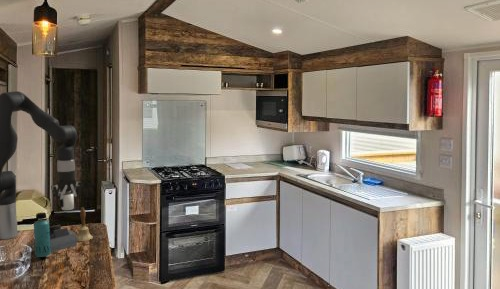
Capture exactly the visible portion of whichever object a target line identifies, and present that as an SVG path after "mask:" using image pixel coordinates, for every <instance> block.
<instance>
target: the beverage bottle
mask: <svg viewBox="0 0 500 289" xmlns="http://www.w3.org/2000/svg"><path fill="white" fill-rule="evenodd" d="M35 219H36V220H37V221H34V223H33V235H34V254H35V257H38V258H44V257H47V256H49V255H51V253H52V252H51V246H50V241H51V240H50V229H49V227H50V222H49V220H47V214H46V212H38V213H36V214H35Z"/></svg>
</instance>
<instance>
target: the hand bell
mask: <svg viewBox="0 0 500 289" xmlns="http://www.w3.org/2000/svg"><path fill="white" fill-rule="evenodd" d="M79 216H80V220H81V221H80V222H81V227H80V228H79V229H78V233H77V235H76V239H77V242H87V241H90V239H91V240H92V239H94V237H93V235H91V233H90V230H89V227H88V226H86V210H85V208H84V207H83V206H82V207H81V208H80V211H79Z"/></svg>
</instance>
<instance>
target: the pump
mask: <svg viewBox="0 0 500 289" xmlns="http://www.w3.org/2000/svg"><path fill="white" fill-rule="evenodd" d="M61 210H63V211H71V210H75V205H74V193H72V190H71V191H66V192H65V194H64V196H63V207H61Z"/></svg>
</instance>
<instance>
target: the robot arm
mask: <svg viewBox="0 0 500 289" xmlns="http://www.w3.org/2000/svg"><path fill="white" fill-rule="evenodd" d="M20 111H22V112H25V113H27V114H28V115H30V117H31V119H32V121H33V123H34V124H35V125H36V126H37V127H39V128H40V129H42V130H44V131H45V132H47V134H48V135H49V136H50V137H51V139H53V140H54V141H56V142H58V143H62V145H61V146H58V148H57V149H56V156H57V162H56V163H57V164H56V170H57V172H56V173H57V175H56V176H57V183H56V184H55V185H51V186H50V189H51V194H52V197H53V198H54V199H57V200H58V201H57V203H58V206H59V207H60V208H62V207H63V196H64V194H65V192H66V191H71V190H72V193H74V206H75V205H76V204H77V196H79V195H81V192H82V186H83V182H82V181H78V180H77V181H76V162H75V152H74V151H75V147H76V145H77V144H76V143H77V139H78V133H77V130H76V128H75V126H74V125H71V124H70V125H60V122H59V121H60V120H58V119H57V118H55V117H54V116H52V115H51V114H49V113H47V112H46V111H45V110H43V109H41V108H40V107H39V106H38V105H37V104H36V103H35V102H34V101H33V100H31V99H30V97H28V96H27V95H26V94H24V93H23V92H21V91H7V92H2V93H1V94H0V191H3V193H1V194H0V240H8V239H9V240H10V239H13V238H16V237H18V235H19V233H18V219H17V217H18V216H17V204H16V203H17V202H16V198H17V180H16V174H15V173H14V172H13V170H5V171H3V169H4V168H5V165H6V164H7V163H8V162H9V161H10V160H11V159H12V157H13V155H14V154H15V152H16V151H17V147H18V139H19V137H18V134H17V132H16V130H15V128H14V126H13V124H12V115H13V113H15V112H20ZM58 189H59V190H58Z"/></svg>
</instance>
